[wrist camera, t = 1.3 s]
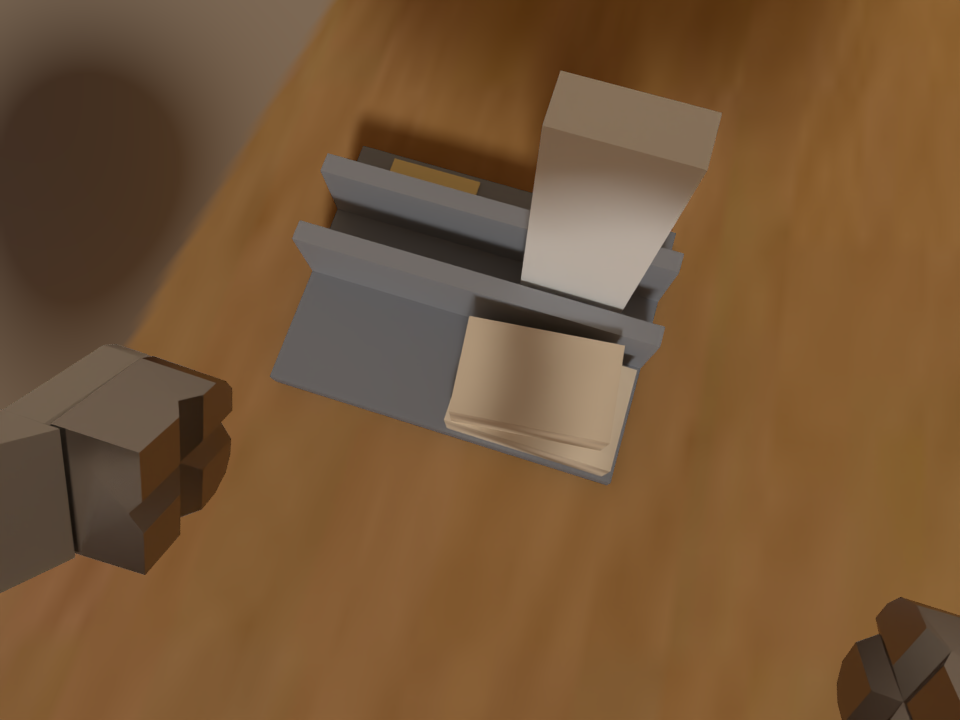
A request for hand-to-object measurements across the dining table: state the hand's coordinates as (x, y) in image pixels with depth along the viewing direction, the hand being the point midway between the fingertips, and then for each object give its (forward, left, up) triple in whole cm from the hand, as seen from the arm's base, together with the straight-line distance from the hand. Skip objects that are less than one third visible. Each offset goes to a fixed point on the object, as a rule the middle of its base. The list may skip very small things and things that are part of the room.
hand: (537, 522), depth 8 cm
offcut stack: (-3, -6, -25) cm, 26 cm away
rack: (-1, -12, -26) cm, 29 cm away
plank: (-6, -11, -25) cm, 28 cm away
